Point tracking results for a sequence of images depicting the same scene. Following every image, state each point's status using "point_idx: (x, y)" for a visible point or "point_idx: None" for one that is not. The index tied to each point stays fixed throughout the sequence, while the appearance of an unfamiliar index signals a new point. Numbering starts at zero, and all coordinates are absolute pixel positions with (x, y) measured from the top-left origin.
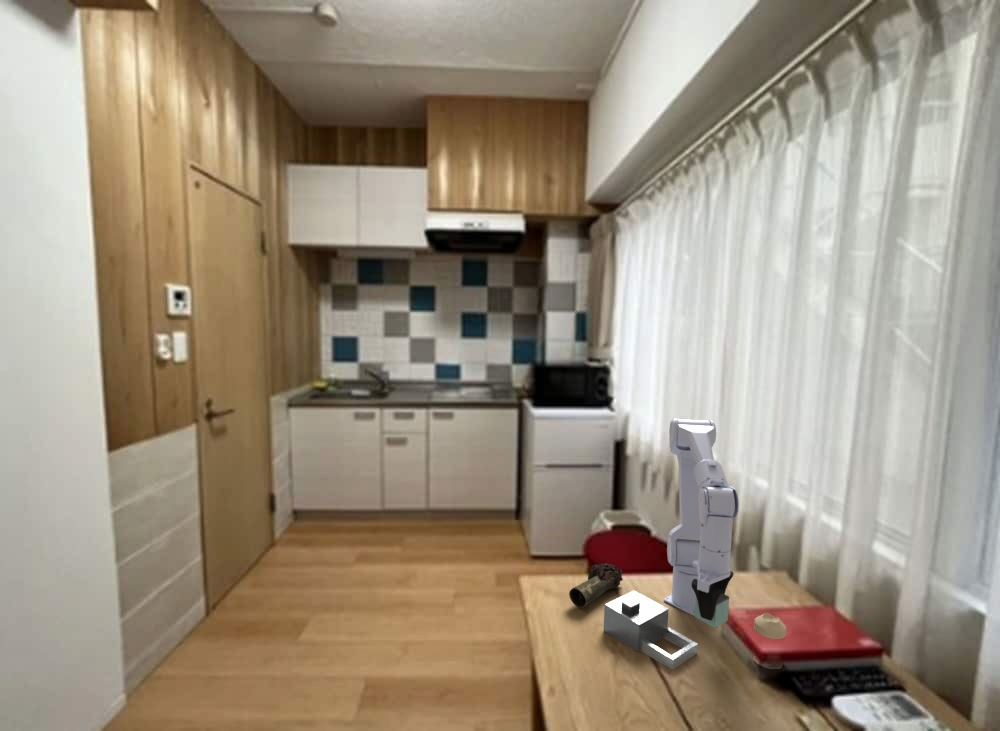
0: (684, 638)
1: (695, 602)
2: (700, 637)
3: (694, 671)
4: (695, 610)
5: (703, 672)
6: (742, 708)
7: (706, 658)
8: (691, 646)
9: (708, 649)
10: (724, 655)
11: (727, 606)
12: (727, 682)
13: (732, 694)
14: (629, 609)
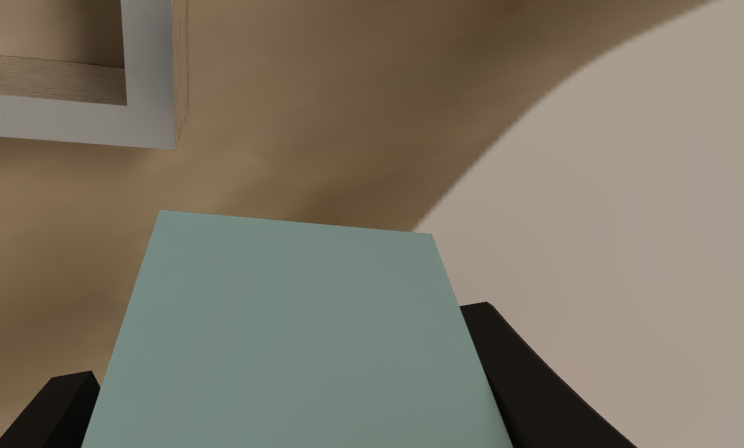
0: (139, 37)
1: (117, 346)
2: (426, 25)
3: (13, 172)
4: (139, 272)
5: (64, 211)
6: (6, 422)
7: (217, 163)
8: (91, 132)
9: (325, 129)
10: (344, 218)
11: None
12: (117, 321)
13: (52, 367)
14: None
